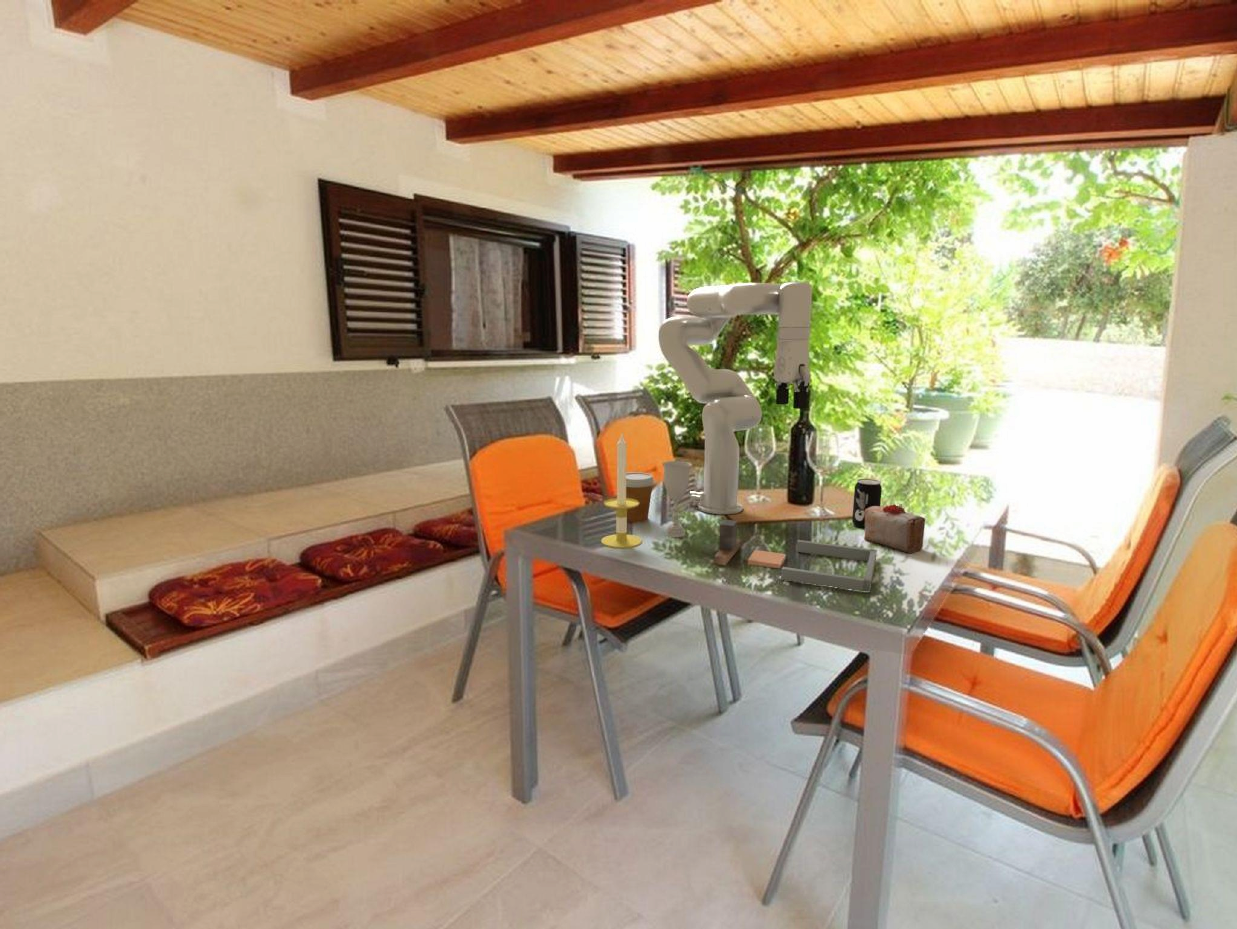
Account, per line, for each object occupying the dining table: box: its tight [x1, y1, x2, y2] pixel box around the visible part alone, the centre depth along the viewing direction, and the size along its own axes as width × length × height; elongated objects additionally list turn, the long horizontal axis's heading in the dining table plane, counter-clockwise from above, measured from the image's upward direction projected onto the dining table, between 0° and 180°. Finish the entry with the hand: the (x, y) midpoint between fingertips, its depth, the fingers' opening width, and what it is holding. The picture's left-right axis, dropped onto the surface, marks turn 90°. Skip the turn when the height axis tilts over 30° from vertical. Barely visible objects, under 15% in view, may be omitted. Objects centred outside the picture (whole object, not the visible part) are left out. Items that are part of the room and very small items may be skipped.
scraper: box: [714, 519, 741, 566], centre depth 153 cm, size 3×13×8 cm, turn 156°
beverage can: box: [851, 478, 883, 529], centre depth 175 cm, size 7×7×12 cm
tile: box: [747, 549, 787, 569], centre depth 150 cm, size 7×7×2 cm
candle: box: [600, 433, 643, 550], centre depth 160 cm, size 10×10×27 cm
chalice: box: [661, 460, 692, 538], centre depth 167 cm, size 7×7×18 cm
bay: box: [780, 539, 878, 591], centre depth 144 cm, size 17×20×2 cm
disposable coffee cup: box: [626, 471, 655, 523], centre depth 180 cm, size 10×10×12 cm
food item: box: [864, 503, 926, 554], centre depth 160 cm, size 14×8×10 cm, turn 33°
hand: (790, 406), depth 165 cm, fingers open, 9 cm apart
